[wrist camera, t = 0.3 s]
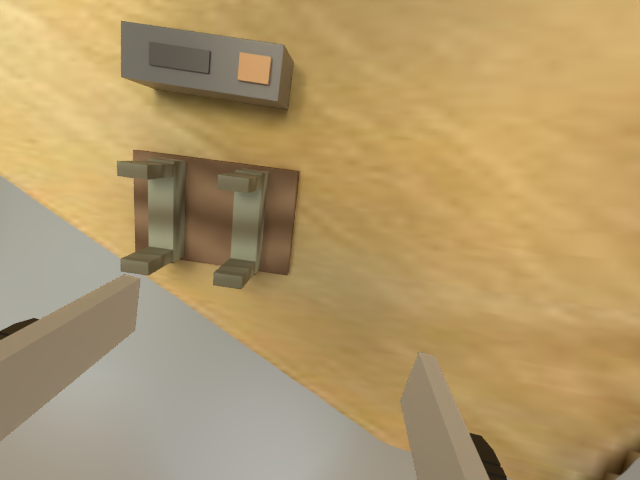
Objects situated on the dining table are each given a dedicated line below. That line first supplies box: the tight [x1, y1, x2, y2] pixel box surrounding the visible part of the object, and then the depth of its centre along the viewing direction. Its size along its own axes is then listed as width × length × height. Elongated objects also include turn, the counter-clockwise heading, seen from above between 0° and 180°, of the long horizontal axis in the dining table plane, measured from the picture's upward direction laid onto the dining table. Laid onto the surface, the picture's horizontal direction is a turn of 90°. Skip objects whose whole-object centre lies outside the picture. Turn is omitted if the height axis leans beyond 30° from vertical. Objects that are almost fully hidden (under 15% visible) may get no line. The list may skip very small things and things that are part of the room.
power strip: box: [121, 21, 294, 109], centre depth 34 cm, size 5×16×6 cm, turn 81°
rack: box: [117, 150, 299, 289], centre depth 37 cm, size 13×20×9 cm, turn 83°
